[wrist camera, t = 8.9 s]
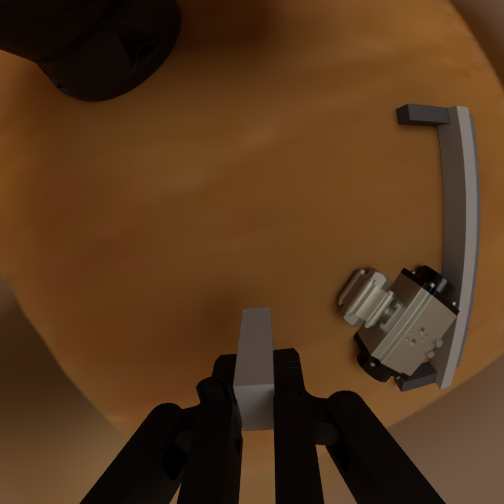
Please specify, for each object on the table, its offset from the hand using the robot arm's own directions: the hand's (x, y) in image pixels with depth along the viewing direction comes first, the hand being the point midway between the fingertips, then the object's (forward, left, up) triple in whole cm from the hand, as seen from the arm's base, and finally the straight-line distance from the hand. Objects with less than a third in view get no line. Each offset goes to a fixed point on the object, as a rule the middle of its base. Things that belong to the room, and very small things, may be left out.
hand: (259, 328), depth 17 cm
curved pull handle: (+1, +20, -11) cm, 23 cm away
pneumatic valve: (+2, +8, -9) cm, 12 cm away
